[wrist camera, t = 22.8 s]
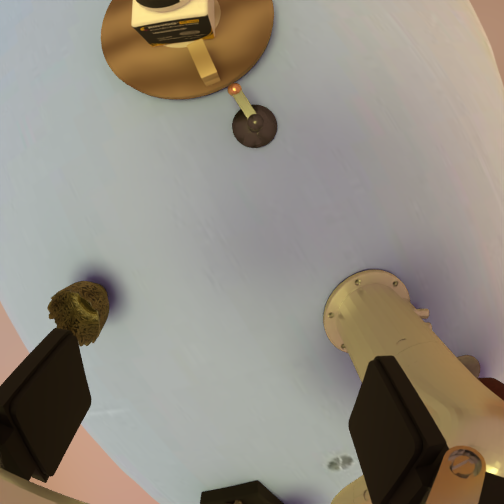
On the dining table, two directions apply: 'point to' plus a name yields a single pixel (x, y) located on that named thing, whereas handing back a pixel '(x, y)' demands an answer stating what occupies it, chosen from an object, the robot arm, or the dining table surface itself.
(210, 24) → the medicine bottle
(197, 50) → the disc
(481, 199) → the dining table surface
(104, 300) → the brown textured pot
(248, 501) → the coral
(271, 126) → the joystick
